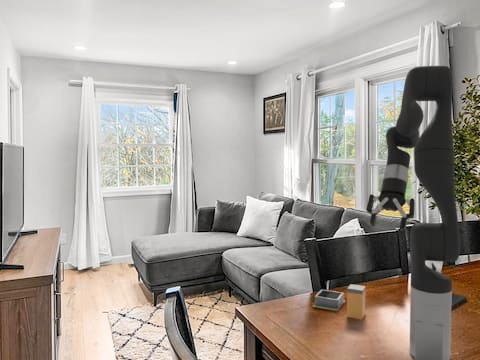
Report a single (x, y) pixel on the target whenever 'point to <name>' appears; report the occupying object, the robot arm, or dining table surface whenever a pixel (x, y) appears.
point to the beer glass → (435, 265)
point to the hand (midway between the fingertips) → (387, 228)
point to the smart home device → (457, 300)
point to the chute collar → (329, 299)
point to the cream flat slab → (328, 308)
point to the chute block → (356, 301)
